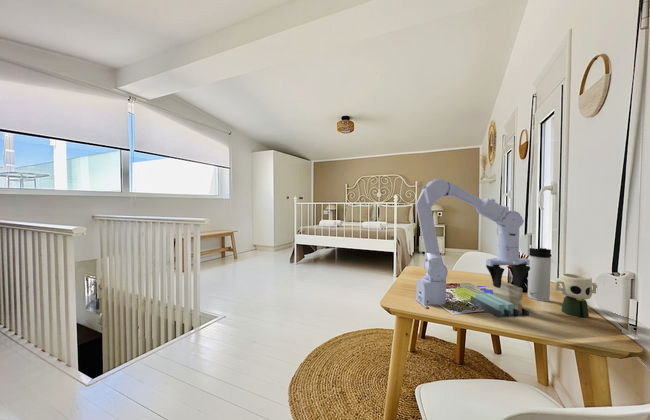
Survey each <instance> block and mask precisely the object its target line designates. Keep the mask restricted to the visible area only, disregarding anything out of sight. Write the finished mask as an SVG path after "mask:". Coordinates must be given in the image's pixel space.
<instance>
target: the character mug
mask: <svg viewBox="0 0 650 420" xmlns="http://www.w3.org/2000/svg"><path fill="white" fill-rule="evenodd" d="M596 284H597V283H595V282H593V279H592V278H591V277H590V276H586V275H583V274H582V275H581V274H577V273H566V272H564V273H561V275H560V280H558V279H557V280H555V282H554V289H555V291H556V292H557V291H559V292H560V293H561V294H562V295H565V296H564V297H563V301H562V305H561V312H562V313H564V314H566V315H568V316H571V317H575V318H581V317H582V318H583V319H588V318H589V316H590V315H589V306H588V302H587V300H589V299H591V297H592V296H593V294H597V293H596V288H597V289H598V284H597V285H596Z"/></svg>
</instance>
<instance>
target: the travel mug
mask: <svg viewBox="0 0 650 420" xmlns="http://www.w3.org/2000/svg"><path fill="white" fill-rule="evenodd" d="M528 251H529V253H528V259H529V260H530V265H528V266H529V267H530V270H529V271H528V273H527V274H528V275H527V298H528V299H531V300H535V301H537V302H545V303H546V302H550V301H551V299H550V297H551V296H550V294H551V273H552V272H551V271H552V269H551V266H552V260H551V259H552V256H551V255H552V249H549V248H548V249H547V248H546V247H545V248H544V247H543V248H541V247H539V248H534V247H533V248H531V247H529V249H528Z"/></svg>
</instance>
